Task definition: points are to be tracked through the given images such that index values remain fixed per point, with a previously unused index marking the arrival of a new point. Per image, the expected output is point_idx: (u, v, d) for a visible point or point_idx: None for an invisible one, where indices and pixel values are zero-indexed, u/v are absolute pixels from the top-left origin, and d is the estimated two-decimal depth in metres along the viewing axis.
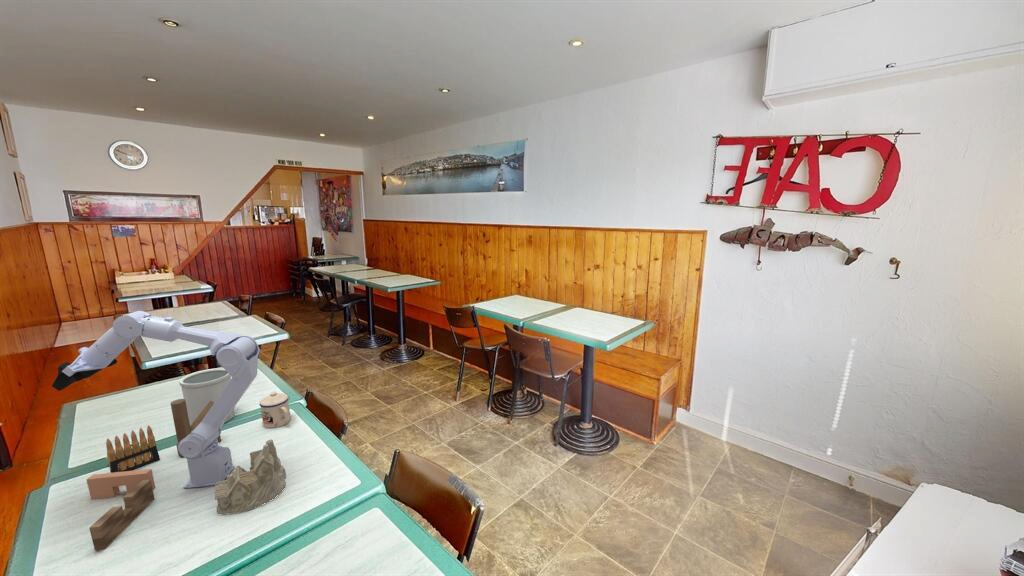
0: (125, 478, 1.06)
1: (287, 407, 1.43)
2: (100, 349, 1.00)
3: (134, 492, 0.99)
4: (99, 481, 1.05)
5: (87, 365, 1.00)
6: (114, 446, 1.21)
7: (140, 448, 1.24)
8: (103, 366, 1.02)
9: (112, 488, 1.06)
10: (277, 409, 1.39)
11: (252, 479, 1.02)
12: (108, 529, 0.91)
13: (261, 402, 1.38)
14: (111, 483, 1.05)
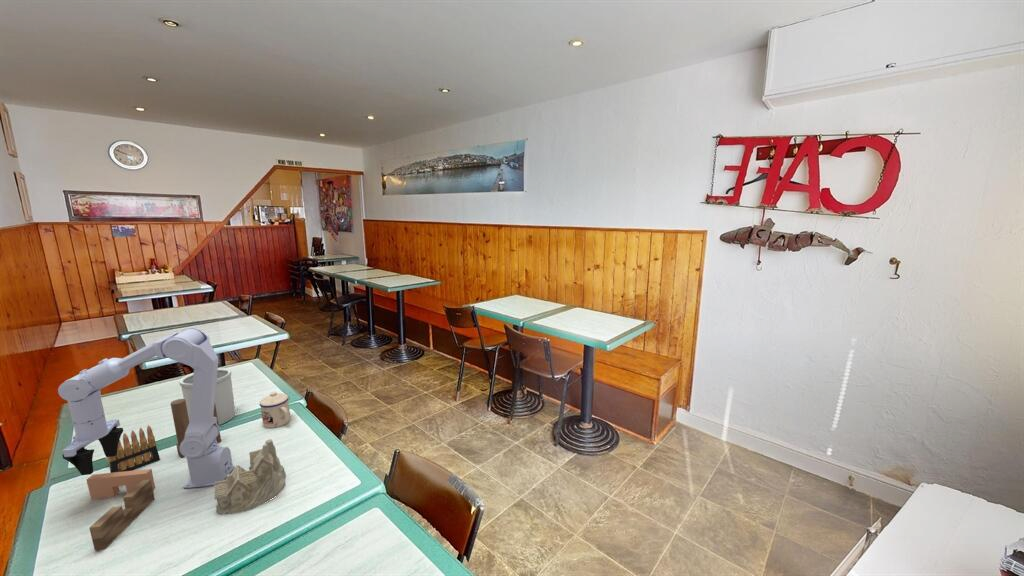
0: (125, 478, 1.06)
1: (287, 407, 1.43)
2: (80, 422, 0.99)
3: (134, 492, 0.99)
4: (99, 481, 1.05)
5: (85, 441, 1.00)
6: None
7: (140, 448, 1.23)
8: (102, 434, 1.03)
9: (112, 488, 1.06)
10: (277, 409, 1.39)
11: (252, 479, 1.02)
12: (108, 529, 0.91)
13: (261, 402, 1.38)
14: (111, 483, 1.05)
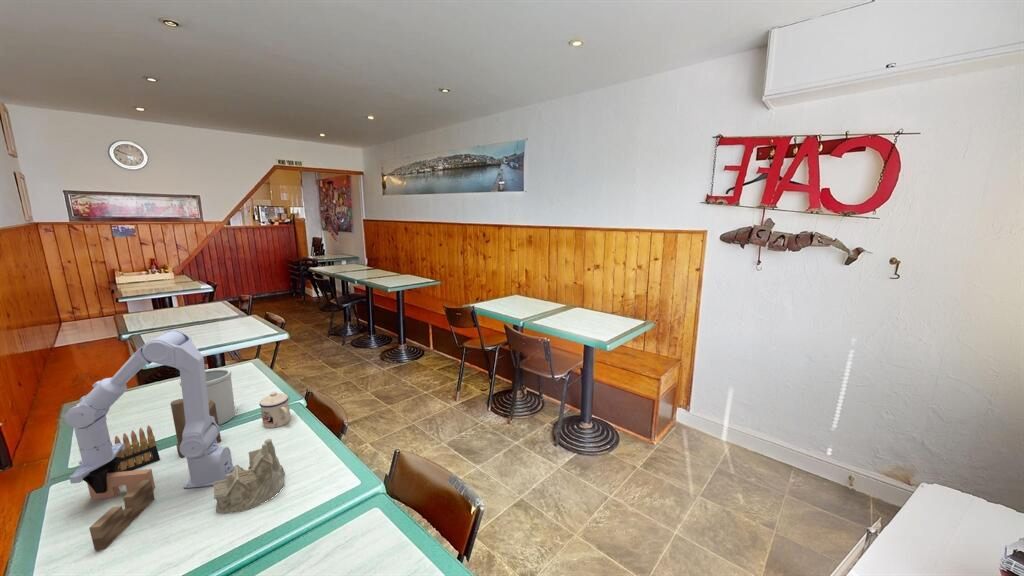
0: (125, 478, 1.06)
1: (287, 407, 1.43)
2: (86, 448, 1.01)
3: (134, 492, 0.99)
4: None
5: (91, 467, 1.02)
6: None
7: None
8: (107, 459, 1.04)
9: (112, 488, 1.06)
10: (277, 409, 1.39)
11: (251, 478, 1.03)
12: (108, 529, 0.91)
13: (261, 402, 1.38)
14: (111, 483, 1.05)
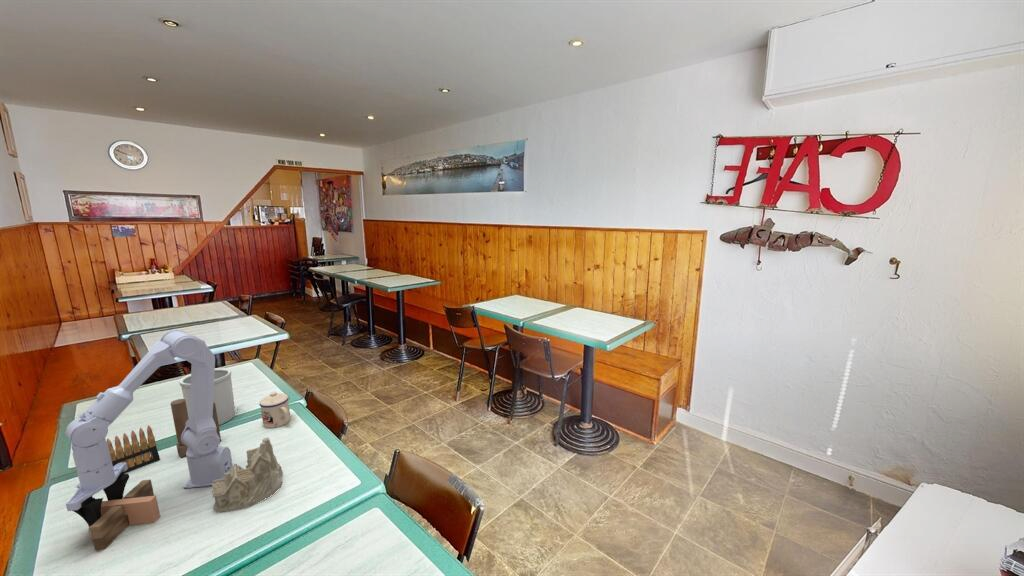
0: (127, 507, 0.95)
1: (287, 407, 1.43)
2: (96, 468, 0.92)
3: (134, 492, 0.99)
4: None
5: (90, 491, 0.91)
6: None
7: None
8: (108, 482, 0.94)
9: None
10: (277, 409, 1.39)
11: (249, 477, 1.03)
12: (108, 529, 0.91)
13: (261, 402, 1.38)
14: None
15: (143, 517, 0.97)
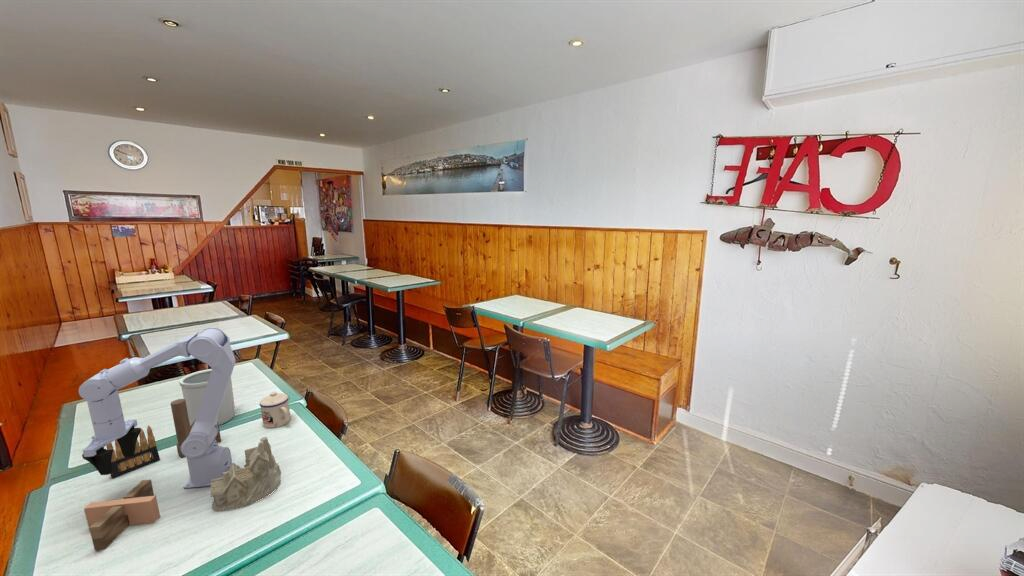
0: (127, 507, 0.95)
1: (287, 407, 1.43)
2: (100, 422, 0.99)
3: (134, 492, 0.99)
4: (98, 510, 0.94)
5: (104, 441, 1.00)
6: None
7: None
8: (120, 434, 1.02)
9: None
10: (277, 409, 1.39)
11: (248, 476, 1.04)
12: (108, 529, 0.91)
13: (261, 402, 1.38)
14: None
15: (143, 517, 0.97)
